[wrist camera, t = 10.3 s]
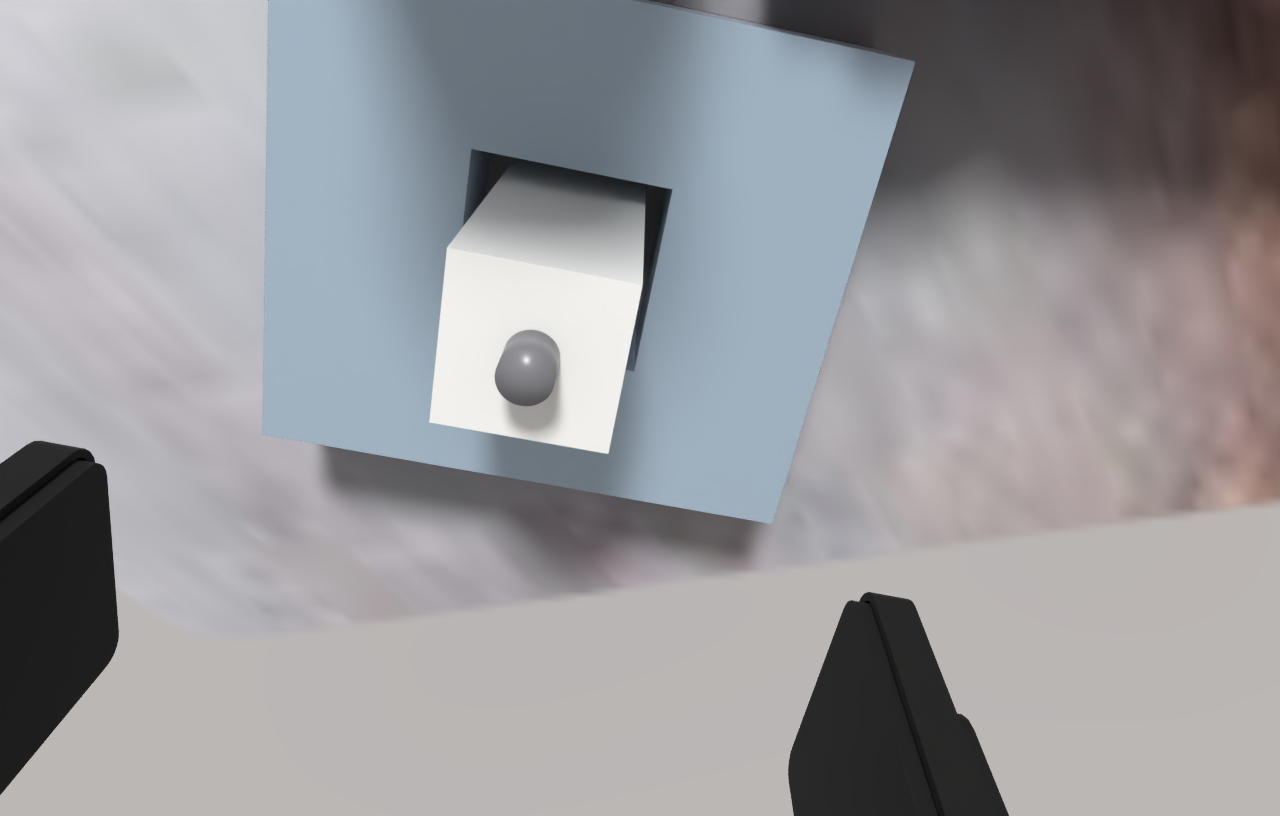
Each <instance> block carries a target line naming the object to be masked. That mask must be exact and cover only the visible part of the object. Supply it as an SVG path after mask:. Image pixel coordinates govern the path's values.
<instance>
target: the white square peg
mask: <svg viewBox="0 0 1280 816" xmlns="http://www.w3.org/2000/svg"><path fill="white" fill-rule="evenodd" d="M645 201H646V184H643V183H638V182H633V181H628V180H623V179H618V178H613V177H608V176H603V175H598V174H593V173H588V172H583V171H578V170H574V169H569V168H564V167H559V166H554V165H549V164H544V163H539V162H534V161H529V160H524V159H519V158H515V159H514V161H513V162H512V163H511V165H510V166H509V167H508V169H507V170H506V171H505V172H504V174H503V175H502V176H501V178H500V179H499V180H498V182H497V183H496V184H495V186H494V187H493V188H492V189H491V191H490V192H489V193H488V195H487V196H486V197H485V199H484V200H483V201H482V203H481V204H480V205H479V206H478V208H477V209H476V210H475V212H474V213H473V214H472V216H471V217H470V218H469V220H468V221H467V222H466V223H465V225H464V226H463V227H462V229H461V230H460V231H459V233H458V234H457V235H456V237H455V238H454V239H453V240H452V242H451V243H450V244H449V246H448V247H447V253H446V263H445V272H444V282H443V292H442V302H441V312H440V322H439V331H438V341H437V351H436V361H435V371H434V380H433V390H432V400H431V410H430V420H429V422H430V423H436V424H441V425H447V426H453V427H458V428H464V429H470V430H475V431H481V432H487V433H492V434H498V435H504V436H509V437H515V438H521V439H526V440H532V441H538V442H543V443H549V444H555V445H560V446H566V447H572V448H577V449H583V450H589V451H594V452H600V453H606V454H608V453H609V448H610V443H611V438H612V433H613V429H614V424H615V419H616V414H617V409H618V404H619V399H620V394H621V389H622V384H623V379H624V375H625V370H626V365H627V360H628V355H629V350H630V345H631V340H632V335H633V330H634V326H635V321H636V316H637V311H638V306H639V301H640V296H641V291H642V286H643V262H644V232H645Z"/></svg>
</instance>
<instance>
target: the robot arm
mask: <svg viewBox="0 0 1280 816" xmlns="http://www.w3.org/2000/svg"><path fill="white" fill-rule="evenodd" d="M118 637H119V630H118V617H117V603H116V590H115V576H114V563H113V550H112V536H111V523H110V510H109V496H108V483H107V474H106V470H105V468H104V466H103V465H101V464H98V463H95V460H94V457H93V455H92V454H91V452H90V451H88V450H86V449H82V448H77V447H71V446H66V445H61V444H55V443H50V442H44V441H34V442H32V443H30V444H28V445H26V446H25V447H23V448H22V449H20V450H19V451H18V452H16V453H15V454H13V455H12V456H11V457H9V458H8V459H6V460H5V461H4V462H2V463H1V464H0V795H1V793H2V792H3V791H4V790H5V789H6V787H7V786H8V785H9V784H10V783H11V781H12V780H13V779H14V778H15V776H16V775H17V774H18V773H19V772H20V770H21V769H22V768H23V767H24V766H25V764H26V763H27V762H28V761H29V759H30V758H31V757H32V756H33V755H34V753H35V752H36V751H37V750H38V749H39V747H40V746H41V745H42V744H43V743H44V741H45V740H46V739H47V738H48V737H49V735H50V734H51V733H52V732H53V730H54V729H55V728H56V727H57V726H58V724H59V723H60V722H61V721H62V720H63V718H64V717H65V716H66V715H67V713H68V712H69V711H70V710H71V709H72V707H73V706H74V705H75V704H76V703H77V701H78V700H79V699H80V698H81V697H82V695H83V694H84V693H85V692H86V690H87V689H88V688H89V687H90V686H91V684H92V683H93V682H94V681H95V680H96V678H97V677H98V676H99V675H100V674H101V672H102V671H103V670H104V669H105V667H106V666H107V665H108V663H109V662H110V660H111V658H112V657H113V655H114V653H115V650H116V647H117V643H118ZM788 771H789V773H788V776H789V786H790V792H791V799H792V805H793V812H794V816H1009V815H1008V812H1007V810H1006V808H1005V805H1004V802H1003V800H1002V798H1001V795H1000V793H999V790H998V788H997V785H996V783H995V780H994V778H993V776H992V773H991V770H990V768H989V765H988V763H987V761H986V758H985V756H984V753H983V751H982V748H981V746H980V743H979V741H978V738H977V736H976V733H975V731H974V729H973V727H972V725H971V724H970V722H969V720H968V719H967V718H966V717H964V716H963V715H962V714H957V712H956V710H955V707H954V704H953V702H952V699H951V697H950V694H949V692H948V689H947V687H946V684H945V682H944V679H943V676H942V674H941V671H940V669H939V666H938V664H937V661H936V658H935V656H934V653H933V651H932V648H931V646H930V643H929V640H928V638H927V635H926V633H925V630H924V628H923V625H922V623H921V620H920V617H919V615H918V612H917V610H916V607H915V605H914V604H913V602H912V601H911V600H909V599H904V598H898V597H892V596H887V595H882V594H876V593H871V592H868V593H865V594H864V595H863V596H862V597H861V599H860V601H859V602H857V601H852V600H851V601H848V602H847V604H846V606H845V607H844V610H843V612H842V615H841V618H840V620H839V623H838V626H837V628H836V631H835V634H834V636H833V639H832V642H831V644H830V647H829V650H828V653H827V655H826V658H825V661H824V663H823V666H822V669H821V671H820V674H819V677H818V680H817V682H816V685H815V688H814V691H813V693H812V696H811V698H810V701H809V704H808V707H807V709H806V712H805V715H804V717H803V720H802V723H801V725H800V728H799V731H798V733H797V736H796V739H795V742H794V744H793V747H792V750H791V754H790V759H789V769H788Z"/></svg>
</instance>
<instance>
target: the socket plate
mask: <svg viewBox="0 0 1280 816" xmlns="http://www.w3.org/2000/svg"><path fill="white" fill-rule="evenodd" d="M914 65H915V61H912V60H909V59H906V58H903V57H900V56H896V55H893V54H890V53H887V52H884V51H881V50H877V49H874V48H869V47H864V46H860V45H855V44H851V43H846V42H841V41H837V40H832V39H828V38H823V37H818V36H814V35H809V34H805V33H800V32H795V31H791V30H786V29H782V28H777V27H772V26H768V25H763V24H759V23H754V22H749V21H745V20H740V19H736V18H731V17H726V16H722V15H717V14H712V13H708V12H703V11H699V10H694V9H689V8H685V7H680V6H676V5H671V4H666V3H662V2H657V1H653V0H268V57H267V132H266V208H265V283H264V358H263V433H262V435H267V436H273V437H278V438H284V439H290V440H296V441H301V442H307V443H313V444H318V445H324V446H330V447H335V448H341V449H347V450H353V451H358V452H364V453H370V454H375V455H381V456H387V457H393V458H398V459H404V460H410V461H415V462H421V463H427V464H432V465H438V466H444V467H450V468H455V469H461V470H467V471H472V472H478V473H484V474H490V475H495V476H501V477H507V478H512V479H518V480H524V481H529V482H535V483H541V484H547V485H552V486H558V487H564V488H569V489H575V490H581V491H586V492H592V493H598V494H604V495H609V496H615V497H621V498H626V499H632V500H638V501H644V502H649V503H655V504H661V505H666V506H672V507H678V508H683V509H689V510H695V511H701V512H706V513H712V514H718V515H723V516H729V517H735V518H741V519H746V520H752V521H758V522H763V523H769V524H772V523H773V519H774V516H775V513H776V510H777V507H778V503H779V500H780V497H781V494H782V490H783V487H784V484H785V481H786V478H787V474H788V471H789V468H790V465H791V462H792V458H793V455H794V452H795V449H796V445H797V442H798V439H799V436H800V433H801V429H802V426H803V423H804V420H805V416H806V413H807V410H808V407H809V404H810V400H811V397H812V394H813V391H814V387H815V384H816V381H817V378H818V375H819V371H820V368H821V365H822V362H823V358H824V355H825V352H826V349H827V346H828V342H829V339H830V336H831V333H832V329H833V326H834V323H835V320H836V317H837V313H838V310H839V307H840V304H841V300H842V297H843V294H844V291H845V288H846V284H847V281H848V278H849V275H850V272H851V268H852V265H853V262H854V259H855V255H856V252H857V249H858V246H859V243H860V239H861V236H862V233H863V230H864V226H865V223H866V220H867V217H868V214H869V210H870V207H871V204H872V201H873V197H874V194H875V191H876V188H877V185H878V181H879V178H880V175H881V172H882V168H883V165H884V162H885V159H886V156H887V152H888V149H889V146H890V143H891V139H892V136H893V133H894V130H895V127H896V123H897V120H898V117H899V114H900V110H901V107H902V104H903V101H904V98H905V94H906V91H907V88H908V85H909V82H910V78H911V75H912V72H913V69H914ZM515 158H519V159H524V160H529V161H534V162H539V163H544V164H549V165H554V166H559V167H564V168H569V169H574V170H578V171H583V172H588V173H593V174H598V175H603V176H608V177H613V178H618V179H623V180H628V181H633V182H638V183H643V184H646V201H645V232H644V262H643V286H642V291H641V296H640V301H639V306H638V311H637V316H636V321H635V326H634V330H633V335H632V340H631V345H630V350H629V355H628V360H627V365H626V370H625V375H624V379H623V384H622V389H621V394H620V399H619V404H618V409H617V414H616V419H615V424H614V429H613V433H612V438H611V443H610V448H609V453H608V454H606V453H600V452H594V451H589V450H583V449H577V448H572V447H566V446H560V445H555V444H549V443H543V442H538V441H532V440H526V439H521V438H515V437H509V436H504V435H498V434H492V433H487V432H481V431H475V430H470V429H464V428H458V427H453V426H447V425H441V424H436V423H430V422H429V420H430V410H431V400H432V390H433V380H434V371H435V361H436V351H437V341H438V331H439V322H440V312H441V302H442V292H443V282H444V272H445V263H446V253H447V247H448V246H449V244H450V243H451V242H452V240H453V239H454V238H455V237H456V235H457V234H458V233H459V231H460V230H461V229H462V227H463V226H464V225H465V223H466V222H467V221H468V220H469V218H470V217H471V216H472V214H473V213H474V212H475V210H476V209H477V208H478V206H479V205H480V204H481V203H482V201H483V200H484V199H485V197H486V196H487V195H488V193H489V192H490V191H491V189H492V188H493V187H494V186H495V184H496V183H497V182H498V180H499V179H500V178H501V176H502V175H503V174H504V172H505V171H506V170H507V169H508V167H509V166H510V165H511V163H512V162H513V161H514V159H515Z"/></svg>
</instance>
